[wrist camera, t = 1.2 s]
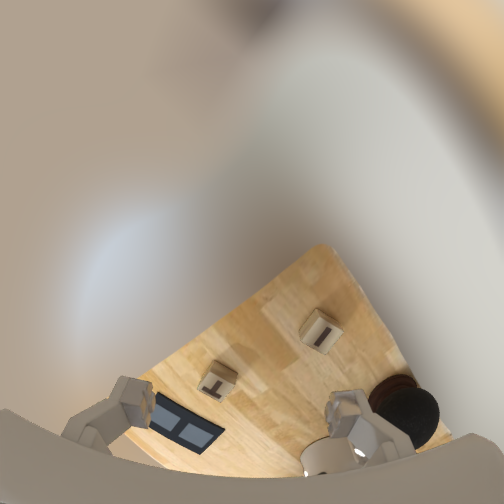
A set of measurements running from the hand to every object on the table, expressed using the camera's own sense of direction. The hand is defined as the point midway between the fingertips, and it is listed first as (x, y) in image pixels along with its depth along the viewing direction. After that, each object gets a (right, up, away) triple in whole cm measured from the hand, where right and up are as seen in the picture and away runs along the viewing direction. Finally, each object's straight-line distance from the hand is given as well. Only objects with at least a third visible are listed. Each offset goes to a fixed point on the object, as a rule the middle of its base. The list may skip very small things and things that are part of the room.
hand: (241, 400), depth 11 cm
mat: (-15, -31, +39) cm, 52 cm away
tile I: (+12, -6, +34) cm, 36 cm away
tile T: (-5, -16, +36) cm, 40 cm away
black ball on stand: (+29, -23, +35) cm, 51 cm away
